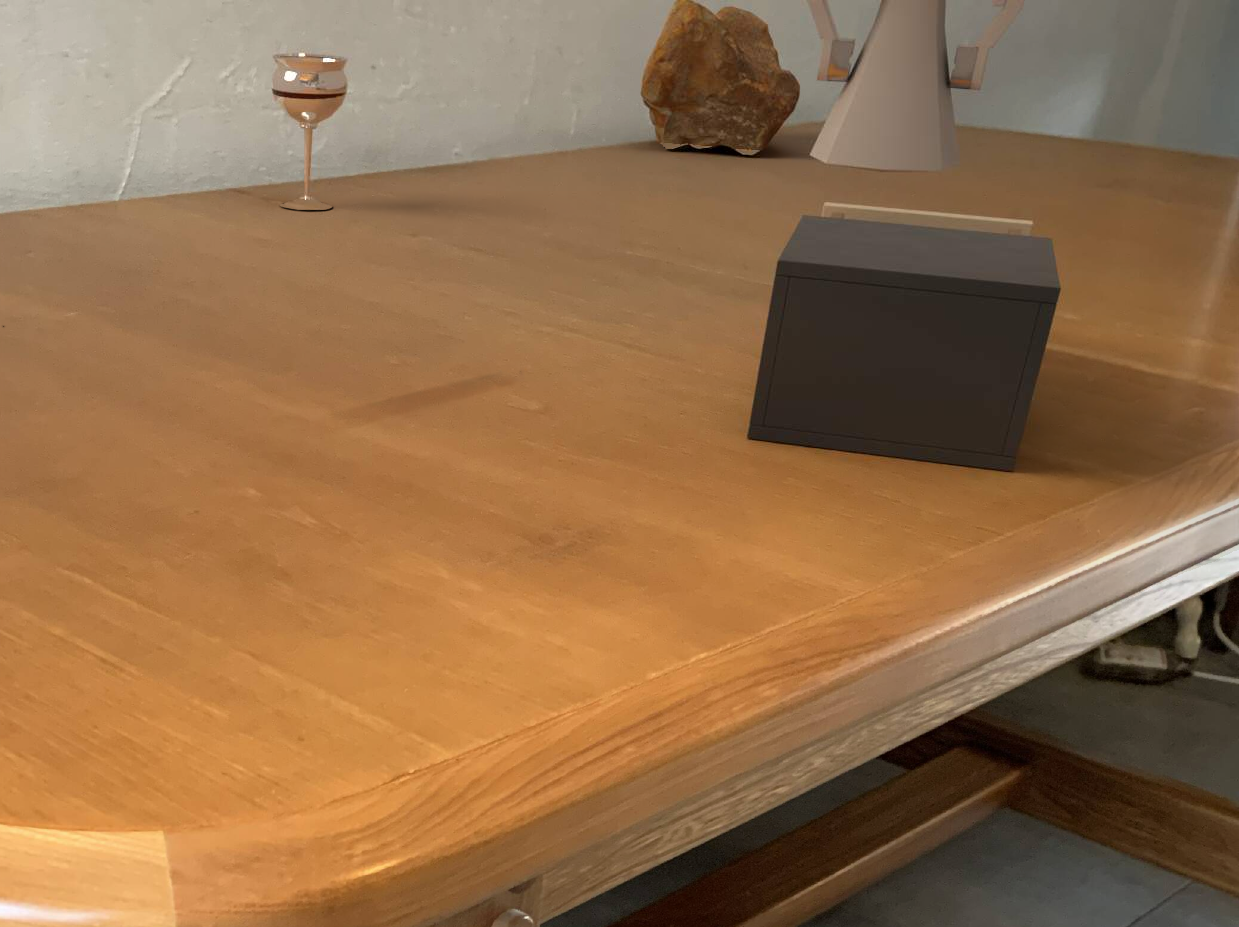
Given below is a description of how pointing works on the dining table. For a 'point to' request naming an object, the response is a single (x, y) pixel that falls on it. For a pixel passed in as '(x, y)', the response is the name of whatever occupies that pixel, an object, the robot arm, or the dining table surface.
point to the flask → (896, 97)
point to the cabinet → (905, 341)
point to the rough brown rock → (717, 80)
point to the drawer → (928, 219)
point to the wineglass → (309, 93)
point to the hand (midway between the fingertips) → (896, 84)
